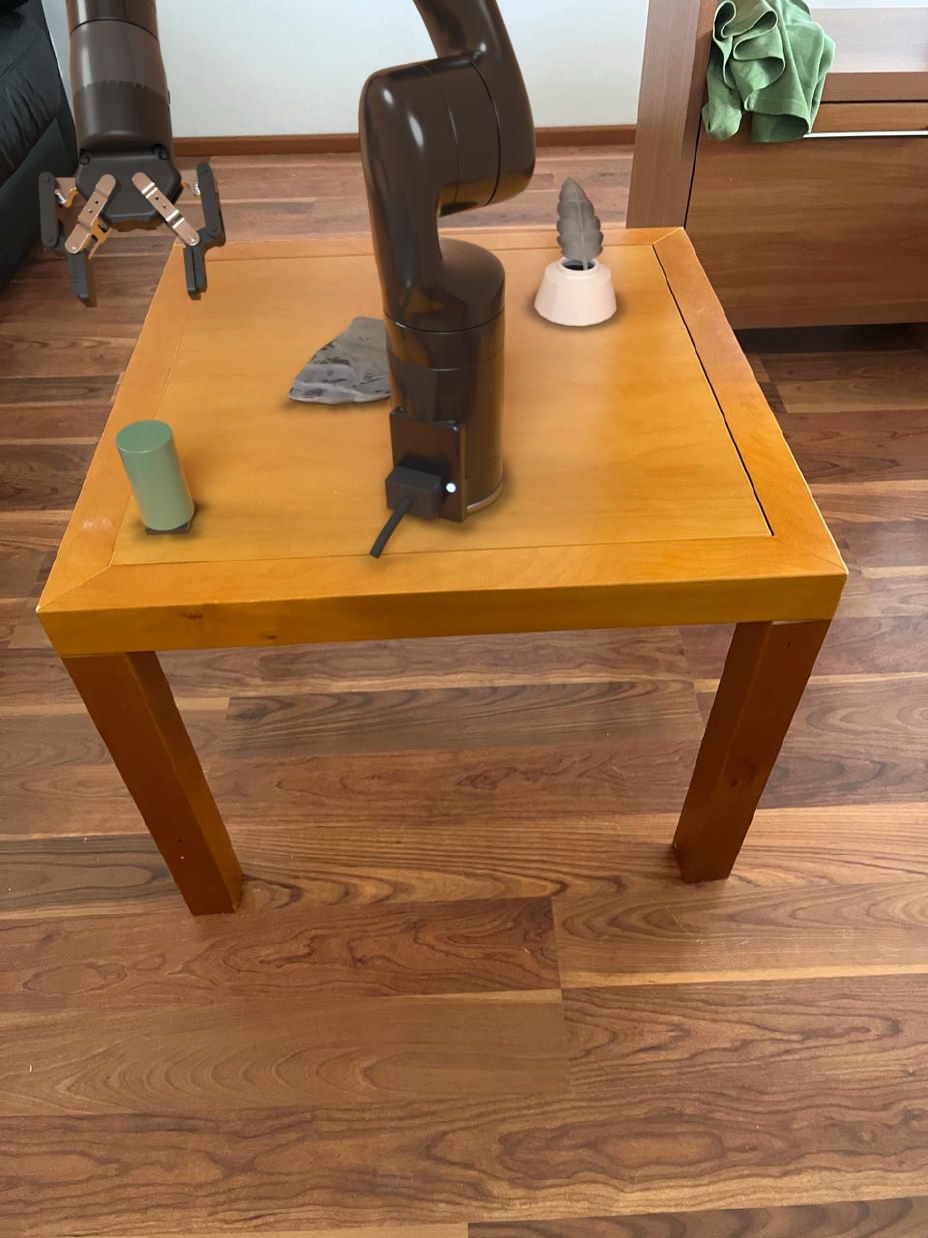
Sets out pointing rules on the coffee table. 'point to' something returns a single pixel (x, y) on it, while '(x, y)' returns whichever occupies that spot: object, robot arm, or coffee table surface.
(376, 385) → the fossil rock
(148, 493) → the sage green cylinder
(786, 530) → the coffee table surface
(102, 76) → the robot arm
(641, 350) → the coffee table surface
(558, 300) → the inkwell
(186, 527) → the coaster
